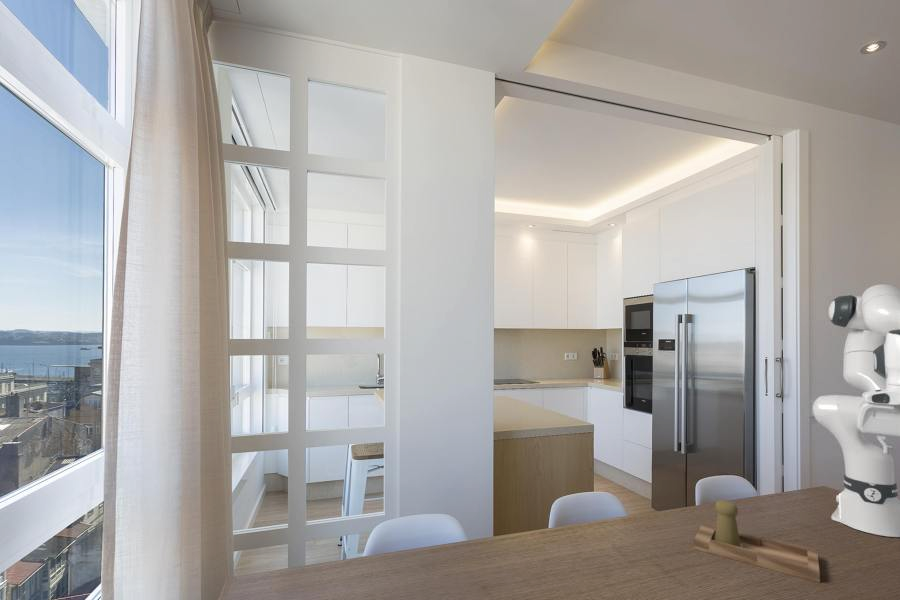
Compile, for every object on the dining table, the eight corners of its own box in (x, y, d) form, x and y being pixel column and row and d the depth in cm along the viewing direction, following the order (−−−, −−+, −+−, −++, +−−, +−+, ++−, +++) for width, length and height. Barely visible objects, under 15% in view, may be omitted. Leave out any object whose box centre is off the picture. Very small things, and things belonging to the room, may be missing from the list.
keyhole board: (702, 531, 131) (702, 522, 131) (817, 559, 115) (817, 549, 115) (694, 548, 120) (693, 539, 120) (820, 582, 104) (819, 571, 104)
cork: (745, 550, 118) (743, 507, 118) (719, 548, 119) (718, 505, 120) (734, 540, 124) (733, 499, 124) (710, 538, 125) (709, 497, 125)
